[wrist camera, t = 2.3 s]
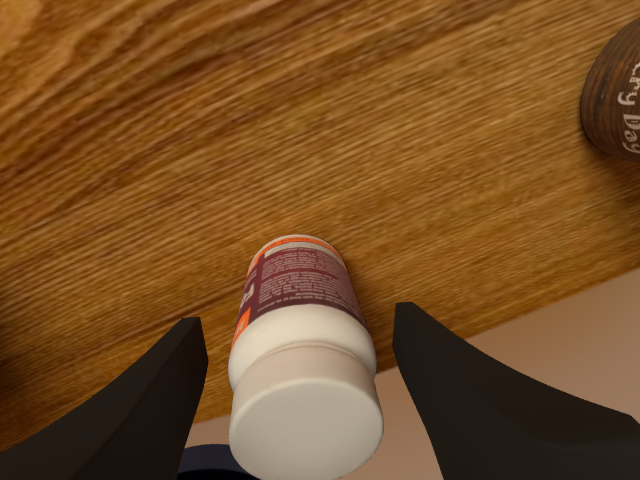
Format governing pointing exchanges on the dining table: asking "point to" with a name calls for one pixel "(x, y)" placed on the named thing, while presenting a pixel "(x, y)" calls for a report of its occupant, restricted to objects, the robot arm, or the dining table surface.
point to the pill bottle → (302, 367)
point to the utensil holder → (615, 96)
